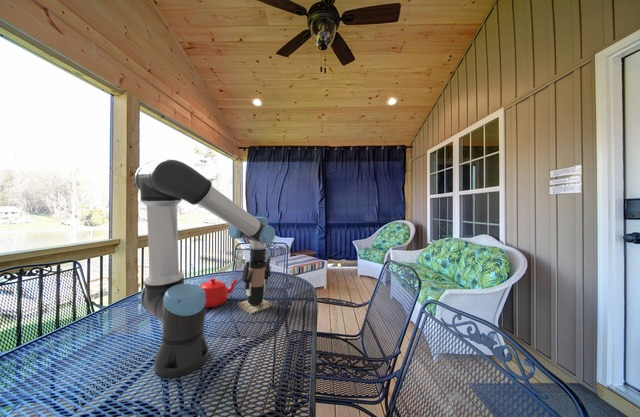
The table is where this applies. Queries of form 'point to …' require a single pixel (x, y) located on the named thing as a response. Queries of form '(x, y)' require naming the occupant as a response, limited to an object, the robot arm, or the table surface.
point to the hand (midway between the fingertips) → (255, 293)
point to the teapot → (216, 292)
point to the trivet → (254, 306)
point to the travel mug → (257, 283)
